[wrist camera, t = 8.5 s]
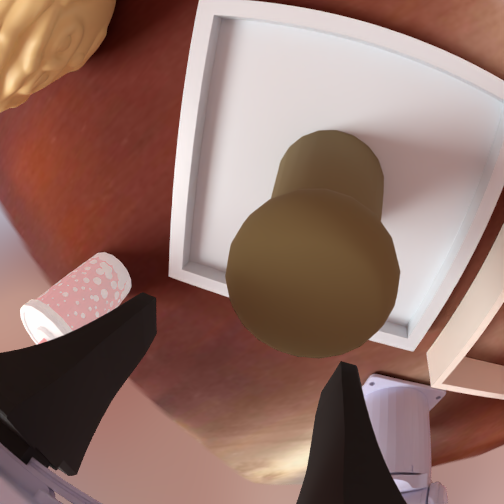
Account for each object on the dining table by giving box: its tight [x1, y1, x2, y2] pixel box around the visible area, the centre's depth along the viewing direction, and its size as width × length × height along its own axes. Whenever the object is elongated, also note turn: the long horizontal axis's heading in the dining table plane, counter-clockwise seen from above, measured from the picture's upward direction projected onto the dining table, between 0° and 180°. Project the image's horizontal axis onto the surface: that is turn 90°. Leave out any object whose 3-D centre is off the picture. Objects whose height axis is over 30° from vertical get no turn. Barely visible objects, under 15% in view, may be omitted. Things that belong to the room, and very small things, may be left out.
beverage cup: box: [20, 252, 131, 345], centre depth 21 cm, size 6×6×14 cm
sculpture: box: [0, 0, 116, 112], centre depth 11 cm, size 11×12×11 cm
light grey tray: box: [169, 0, 504, 351], centre depth 17 cm, size 18×18×2 cm
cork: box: [225, 130, 400, 358], centre depth 13 cm, size 6×6×11 cm
